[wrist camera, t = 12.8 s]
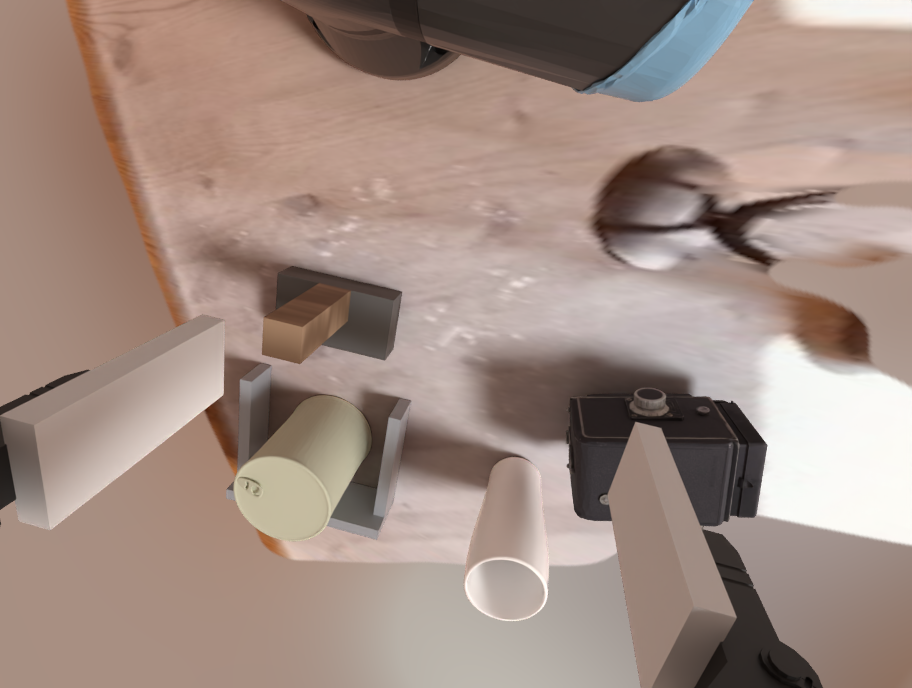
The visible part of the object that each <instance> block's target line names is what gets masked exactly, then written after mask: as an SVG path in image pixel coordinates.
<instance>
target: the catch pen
mask: <svg viewBox="0 0 912 688" xmlns="http://www.w3.org/2000/svg"><path fill="white" fill-rule="evenodd" d="M271 367H272V366H271V365H267V364H263V363H260V364H259V365H258V366H256V367H255V368H254V369H252V370H251V371H250V372H249V373H247V374H246V375H245V376H243V377H242V378H241V379H240V396H239V433H238V469H237V472H238V470H239V469H240V468H241V467H242V465H243V464H245V463H246V462H247V461H248V460H249V459H250V458H251V457H252V456H253V455H254V454H255V453H256V452H257V451H258V450H259V449H260V448H261V447H262V446H263V445H264V444H265V443H266V442H267V441H268V423H269V405H270V386H271ZM410 404H411V401H409V400H405V399H401V398H400V399H399V400H398V402H397V404H396V406H395V407H394V409H393V411H392V413H391V414H390V416H389V420H388V426H387V432H386V438H385V445H384V451H383V457H382V463H381V469H380V476H379V482H378V488H377V489H376V488H372V487H368V486H365V485H361V484H357V483H353V482H350V483H349V485H348V486H347V488H346V490H345V492H344V493H343V495H342V497H341V499H340V500H339V502H338V504H337V506H336V507H335V509H334V511H333V513H332V515H331V517H330V520H329V522H328V524H327V526H328V527H332V528H336V529H339V530H343V531H347V532H350V533H354V534H357V535H361V536H365V537H368V538H372V539H376V540H377V539H378V536H379V534H380V532H381V529H382V527H383V525H384V522H385V520H386V518H387V515H388V513H389V511H390V508H391V506H392V504H393V500H394V495H395V489H396V483H397V478H398V472H399V466H400V461H401V455H402V450H403V444H404V438H405V433H406V427H407V421H408V416H409V410H410ZM233 486H234V482H233V483H232V484H231V485H230V486H229V487H228V488H227V494H226V498H227V499H231V500H234V501H236V500H235V497H234V491H233Z"/></svg>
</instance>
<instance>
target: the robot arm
mask: <svg viewBox="0 0 912 688" xmlns="http://www.w3.org/2000/svg"><path fill="white" fill-rule="evenodd" d="M281 1H283V2H284V3H286V4H288V5H290V6H292V7H294V8H296V9H298V10H300V11H302V12H303V13H305V14H306V15H307V17H308V19H309V21H310V22H311V24H312V26H313V27H314V29H315V31H316V32H317V34H318V35H319V36H320V38H321V39H322V40H323V41H324V42H325V44H326V45H327V46H328V47H329V48H330V49H331V50H332V51H333V52H334V53H335V54H336V55H338V56H339V57H340V58H341V59H343V60H344V61H345V62H347V63H348V64H350V65H351V66H353V67H355V68H357V69H359V70H361V71H364V72H366V73H369V74H371V75H374V76H377V77H380V78H384V79H390V80H412V79H417V78H421V77H425V76H428V75H431V74H433V73H435V72H437V71H439V70H441V69H443V68H444V67H446V66H447V65H449V64H450V63H452V62H453V61H454V60H455V59H457V58H458V57H459V56H460V55H461V54H462V55H465V56H468V57H472V58H475V59H478V60H482V61H485V62H488V63H492V64H495V65H498V66H502V67H505V68H508V69H512V70H515V71H518V72H522V73H525V74H528V75H532V76H535V77H538V78H542V79H545V80H548V81H552V82H555V83H558V84H562V85H565V86H568V87H571V88H572V89H573V90H574V91H576V92H578V93H581V94H582V93H586V94H594V93H600V94H605V95H609V96H613V97H617V98H622V99H626V100H630V101H634V102H644V101H653V100H656V99H660V98H663V97H665V96H667V95H669V94H671V93H672V92H674V91H676V90H677V89H679V88H680V87H681V86H683V85H684V84H685V83H686V82H687V81H689V80H690V79H691V78H692V77H693V76H694V75H695V74H696V73H697V72H698V71H699V70H700V69H701V68H702V67H703V66H704V65H705V64H706V63H707V62H708V60H709V59H710V58H711V57H712V56H713V55H714V54H715V52H716V51H717V50H718V49H719V47H720V46H721V45H722V44H723V42H724V41H725V40H726V39H727V37H728V36H729V34H730V33H731V32H732V30H733V29H734V28H735V26H736V25H737V24H738V22H739V21H740V19H741V18H742V16H743V15H744V14H745V12H746V11H747V9H748V8H749V6H750V5H751V4H752V2H753V1H754V0H281ZM224 341H225V320H223V319H219V318H215V317H211V316H207V315H203V314H202V315H200V316H198V317H196V318H194V319H192V320H190V321H188V322H186V323H184V324H182V325H180V326H178V327H176V328H174V329H172V330H170V331H168V332H166V333H164V334H162V335H160V336H158V337H156V338H154V339H152V340H150V341H148V342H146V343H144V344H142V345H140V346H138V347H136V348H134V349H132V350H130V351H128V352H126V353H124V354H122V355H120V356H118V357H116V358H114V359H112V360H110V361H108V362H106V363H104V364H102V365H100V366H98V367H96V368H94V369H92V370H85V371H81V372H78V373H74V374H70V375H66V376H64V377H61V378H59V379H57V380H55V381H53V382H51V383H49V384H47V385H46V386H45V387H41V388H39V389H36V390H34V391H32V392H30V394H29V395H24V396H22V397H20V398H18V399H16V400H14V401H12V402H10V403H7V404H5V405H3V406H1V407H0V510H1V509H2V508H3V507H5V506H6V505H8V504H9V503H11V502H13V501H14V500H15V503H16V509H17V514H18V519H19V521H20V522H24V523H27V524H30V525H34V526H37V527H41V528H44V529H48V530H51V529H52V528H54V527H55V526H56V525H57V524H59V523H60V522H61V521H63V520H64V519H65V518H66V517H68V516H69V515H70V514H71V513H73V512H74V511H75V510H77V509H78V508H79V507H80V506H82V505H83V504H84V503H86V502H87V501H88V500H89V499H91V498H92V497H93V496H95V495H96V494H97V493H98V492H100V491H101V490H102V489H104V488H105V487H106V486H107V485H109V484H110V483H111V482H113V481H114V480H115V479H116V478H118V477H119V476H120V475H122V474H123V473H124V472H125V471H127V470H128V469H129V468H131V467H132V466H133V465H134V464H136V463H137V462H138V461H139V460H141V459H142V458H143V457H144V456H146V455H147V454H148V453H150V452H151V451H152V450H153V449H155V448H156V447H157V446H159V445H160V444H161V443H163V442H164V441H165V440H166V439H168V438H169V437H170V436H172V435H173V434H174V433H175V432H177V431H178V430H179V429H180V428H182V427H183V426H184V425H186V424H187V423H188V422H189V421H191V420H192V419H193V418H195V417H196V416H197V415H198V414H199V413H201V412H202V411H204V410H205V409H206V408H207V407H209V406H210V405H211V404H213V403H214V402H215V401H216V400H218V399H219V398H220V397H221V396H223V395H224ZM608 500H609V506H610V512H611V518H612V523H613V529H614V535H615V541H616V547H617V552H618V558H619V564H620V570H621V576H622V581H623V587H624V593H625V599H626V605H627V610H628V616H629V622H630V628H631V634H632V639H633V645H634V651H635V657H636V662H637V668H638V673H639V680H640V686H641V688H823V687H822V685H821V683H820V680H819V677H818V675H817V674H816V673H815V671H814V670H813V669H812V667H811V666H810V665H809V663H808V662H807V661H806V660H805V659H804V658H802V657H801V656H800V655H799V654H798V653H797V652H796V651H795V650H793V649H792V648H790V647H789V646H787V645H785V644H784V643H782V642H780V641H779V639H778V637H777V634H776V632H775V631H774V628H773V626H772V624H771V622H770V620H769V618H768V615H767V613H766V611H765V609H764V607H763V604H762V602H761V600H760V598H759V596H758V594H757V592H756V590H755V589H753V586H754V585H753V583H752V581H751V579H750V577H749V574H746V571H747V570H746V568H745V566H744V564H743V562H742V560H741V557H740V555H739V553H738V552H737V550H736V549H735V548H734V547H733V546H732V545H731V544H730V543H729V542H728V540H727V539H726V538H725V537H724V536H723V535H722V534H719V533H715V532H711V531H707V530H703V529H701V527H700V524H699V522H698V519H697V517H696V514H695V512H694V509H693V507H692V504H691V502H690V499H689V497H688V494H687V492H686V489H685V487H684V484H683V482H682V479H681V477H680V474H679V472H678V469H677V467H676V464H675V462H674V459H673V457H672V454H671V452H670V449H669V447H668V444H667V442H666V439H665V437H664V434H663V432H662V429H661V428H658V427H654V426H650V425H646V424H642V423H638V422H635V424H634V427H633V430H632V432H631V435H630V437H629V440H628V443H627V445H626V448H625V450H624V453H623V456H622V458H621V461H620V464H619V466H618V469H617V471H616V474H615V477H614V479H613V482H612V484H611V487H610V490H609V492H608ZM0 525H1V522H0Z"/></svg>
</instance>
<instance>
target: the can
mask: <svg viewBox="0 0 912 688" xmlns="http://www.w3.org/2000/svg"><path fill="white" fill-rule="evenodd" d="M371 444H372V434H371V429H370V426H369V424H368V422H367V420H366V418H365V417H364V416H363V414H362V413H361V412H360V411H359V410H358V409H357V408H356V407H355V406H354V405H352V404H351V403H349V402H347V401H345V400H344V399H341V398H338V397H335V396H329V395H319V396H313V397H311V398H308V399H306V400H304V401H303V402H301V403H300V404H299V405H298V406H297V407H296V409H295V410H294V412H293V414H292V415H291V416H290V417H289V418H288V419H287V420H286V422H285V423H284V424H283V425H282V426H281V427H280V428H279V429H278V430H277V431H276V432H275V433H274V434H273V436H272V437H271V438H270V439H269V440H268V441H267V442H266V443H265V444H264V445H263V446H262V447H261V448H260V449H259V450H258V451H257V452H256V453H255V454H254V455H253V456H252V457H251V458H250V459H249V460H248V461H247V462H246V463H245V464H243V465H242V467H241V468H240V469H239V470H238V472H237V474H236V476H235V479H234V486H233V491H234V497H235V500H236V503H237V505H238V507H239V509H240V511H241V513H242V514H243V515H244V517H245V518H246V519H247V520H248V521H249V522H250V523H251V524H252V525H253V526H254V527H256V528H257V529H258V530H260V531H261V532H263V533H265V534H267V535H269V536H271V537H274V538H277V539H280V540H285V541H303V540H307V539H310V538H312V537H315V536H316V535H318V534H319V533H320V532H322V531H323V529H324V528H325V527H326V526H327V524H328V522H329V520H330V517H331V515H332V513H333V511H334V509H335V507H336V506H337V504H338V502H339V500H340V499H341V497H342V495H343V493H344V492H345V490H346V488H347V486H348V485H349V483H350V481H351V479H352V478H353V476H354V474H355V473H356V471H357V469H358V468H359V466H360V464H361V463H362V461H364V459H365V458H366V457H367V455H368V454H369V451H370V449H371Z"/></svg>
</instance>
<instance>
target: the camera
mask: <svg viewBox="0 0 912 688" xmlns="http://www.w3.org/2000/svg"><path fill="white" fill-rule="evenodd" d="M567 412H570V426H569V431H566V443H567V444H569V464H567V468H569V470H570V475H571V487H572V496H573V504H574V510H575V512H576V514H577V515H578V516H579V517H580V518H584V519H587V520H593V521H612V518H611V512H610V506H609V500H608V492H609V490H610V487H611V484H612V482H613V479H614V477H615V474H616V471H617V469H618V466H619V464H620V461H621V458H622V456H623V453H624V450H625V448H626V445H627V443H628V440H629V437H630V435H631V432H632V430H633V427H634V424H635V422H638V423H642V424H646V425H650V426H654V427H658V428H661V429H662V432H663V434H664V437H665V439H666V442H667V444H668V447H669V449H670V452H671V454H672V457H673V459H674V462H675V464H676V467H677V469H678V472H679V474H680V477H681V479H682V482H683V484H684V487H685V489H686V492H687V494H688V497H689V499H690V502H691V504H692V507H693V509H694V512H695V514H696V517H697V519H698V522H699V524H700V527H701V529H703V530H704V526H718V525H720V524H722V522H723V521H726V522H728V521H729V519H730V516H737V517H748V518H749V517H750V518H754V517H755V516H756V514H757V507H758V501H759V495H760V488H761V482H762V476H763V469H764V463H765V457H766V450H767V444H766V443H765V441H764V440H763V439H762V437H761V436H760V435H759V433H758V432H757V431H756V429H755V428H754V427H753V425H752V424H751V423H750V422H749V420H748V419H747V418H746V416H745V415H744V414H743V412H742V411H741V410H740V408H739V407H738V406H737V404H736V403H733V401H731V403H728V402H726V401H723V400H712V399H711V398H710V397H706V396H704V397H692V396H691V395H690V394H665V393H664V392H662V391H661V390H658V389H654V388H640V389H637V390H636V391H635V393H634V394H593V395H587V397H571V398H570V408H567Z"/></svg>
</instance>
